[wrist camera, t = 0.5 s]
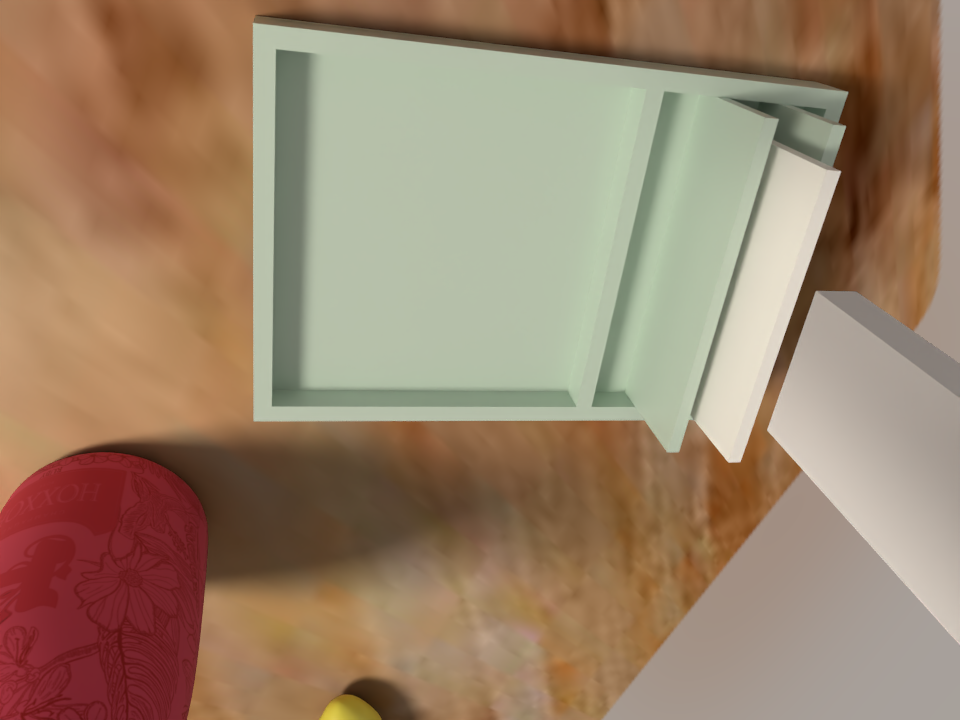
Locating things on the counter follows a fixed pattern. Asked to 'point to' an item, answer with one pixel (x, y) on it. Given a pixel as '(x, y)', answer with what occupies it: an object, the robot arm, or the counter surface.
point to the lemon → (349, 709)
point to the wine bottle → (101, 591)
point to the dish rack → (525, 231)
